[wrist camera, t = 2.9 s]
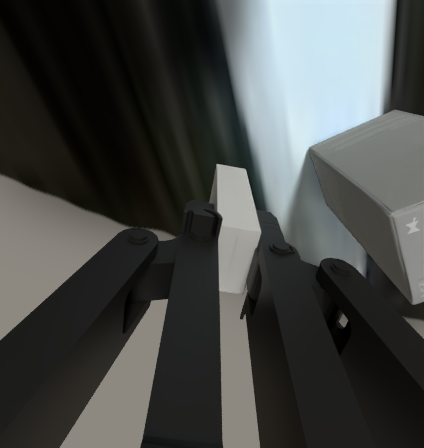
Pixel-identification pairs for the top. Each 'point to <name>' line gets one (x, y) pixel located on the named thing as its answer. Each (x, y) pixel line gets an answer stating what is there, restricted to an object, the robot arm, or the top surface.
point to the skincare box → (380, 192)
